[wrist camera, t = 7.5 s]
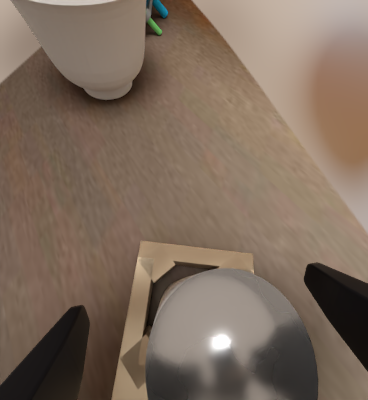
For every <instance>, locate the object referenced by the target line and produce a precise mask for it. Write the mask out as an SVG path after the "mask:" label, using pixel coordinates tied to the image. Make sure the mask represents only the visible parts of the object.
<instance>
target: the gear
mask: <svg viewBox="0 0 368 400" xmlns="http://www.w3.org/2000/svg"><path fill="white" fill-rule="evenodd" d="M152 5H153V6H154V7H155V8H156V10H157V11H158V12H159V13H160V15H161V16H162V17H163V18H165V17H166V16H167V14H168V11H167V10H166V9H165V7H164V6H163V5H162V3H161V2H160V1H159V0H146V22H145V24H146V23H148V24H149V26H150V27H151V28H152V29H153V30H154V31H155V32H156V33H157V35H158V36H159V35H160V34H161V33H162V30H161V29H160V28H159V27H158V26H157V25H156V23H155V22H154V21H153V20H152V19H151V18H150V16H151V11H152Z"/></svg>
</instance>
